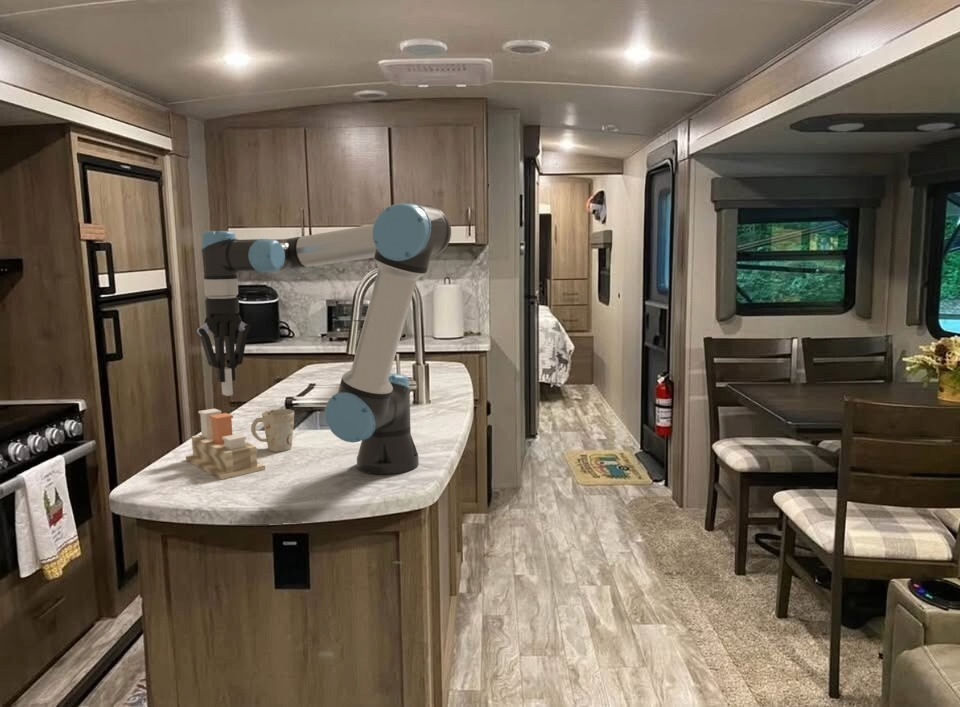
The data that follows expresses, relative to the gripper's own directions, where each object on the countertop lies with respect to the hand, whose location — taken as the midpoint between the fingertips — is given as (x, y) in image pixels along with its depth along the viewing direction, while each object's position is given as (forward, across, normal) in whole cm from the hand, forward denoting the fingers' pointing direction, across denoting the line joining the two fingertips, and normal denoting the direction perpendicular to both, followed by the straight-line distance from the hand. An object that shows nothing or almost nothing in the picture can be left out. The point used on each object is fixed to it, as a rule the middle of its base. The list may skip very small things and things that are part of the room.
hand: (227, 394), depth 179 cm
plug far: (+14, 0, -12) cm, 18 cm away
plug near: (+18, 0, +2) cm, 18 cm away
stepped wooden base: (+19, 0, -5) cm, 19 cm away
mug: (+19, -16, -10) cm, 27 cm away
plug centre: (+14, 0, -5) cm, 14 cm away
